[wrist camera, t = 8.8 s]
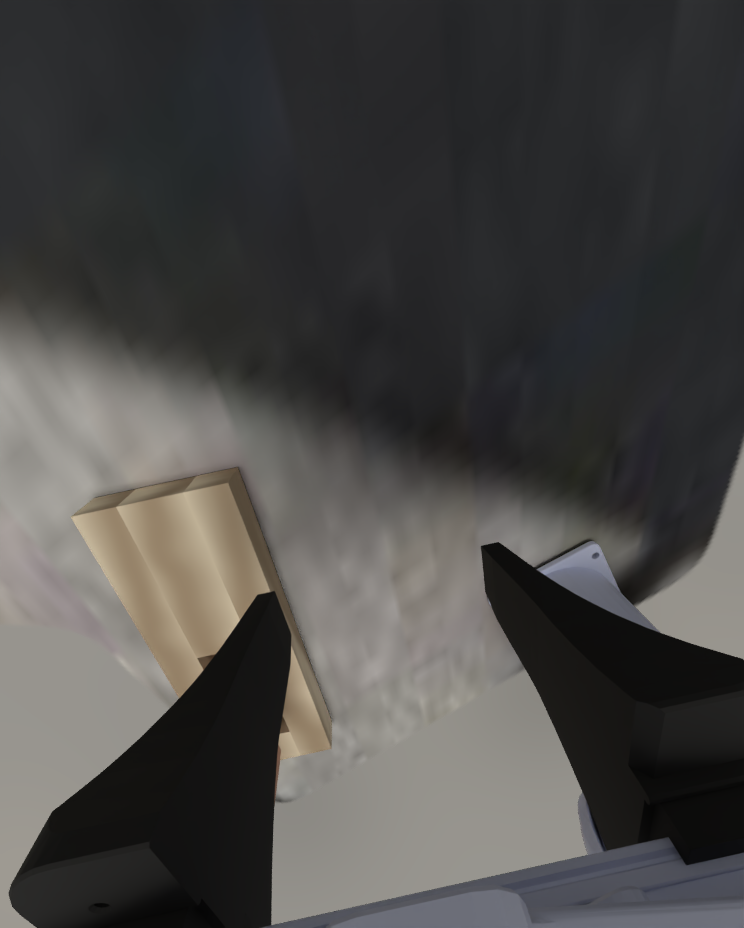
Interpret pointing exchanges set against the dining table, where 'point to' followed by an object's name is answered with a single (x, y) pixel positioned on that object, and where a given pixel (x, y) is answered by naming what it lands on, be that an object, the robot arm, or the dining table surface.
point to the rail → (199, 583)
